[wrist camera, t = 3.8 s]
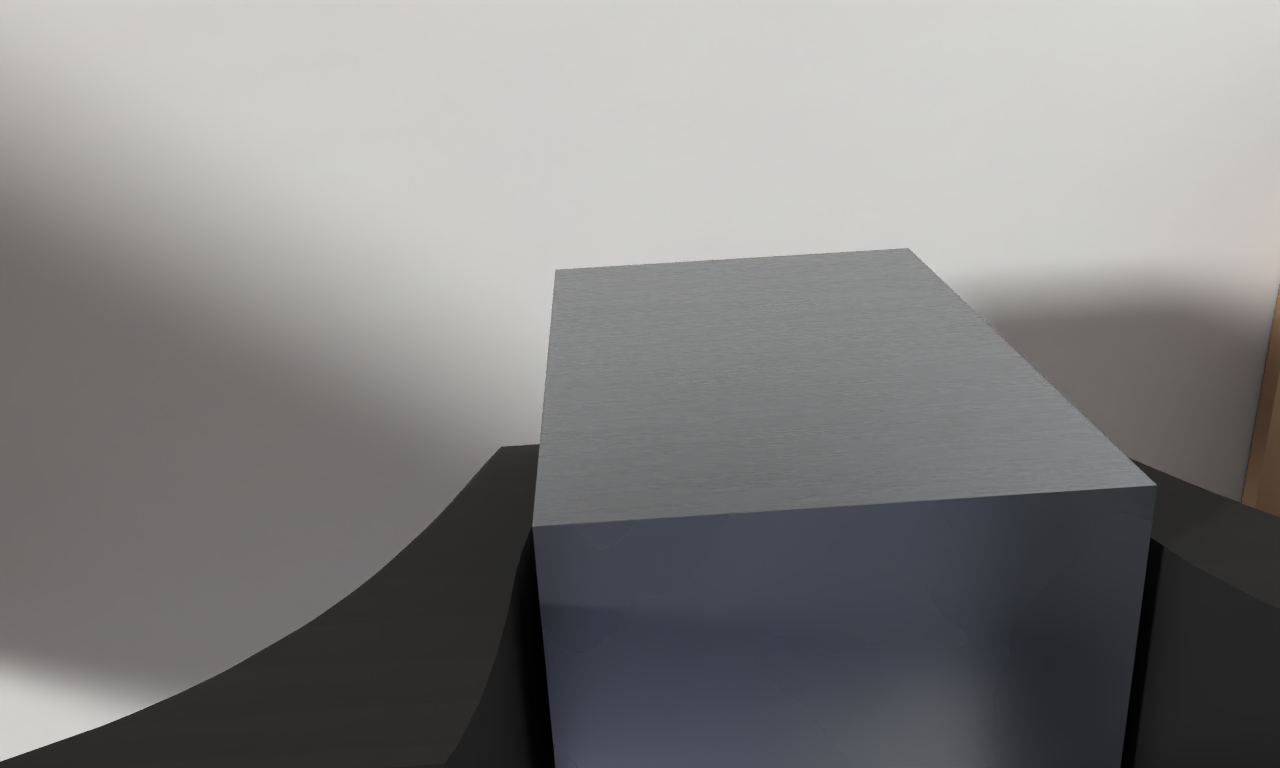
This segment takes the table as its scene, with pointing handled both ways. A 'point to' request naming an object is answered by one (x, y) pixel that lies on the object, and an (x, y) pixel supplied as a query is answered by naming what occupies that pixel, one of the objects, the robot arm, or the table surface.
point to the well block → (1267, 434)
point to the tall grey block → (824, 527)
